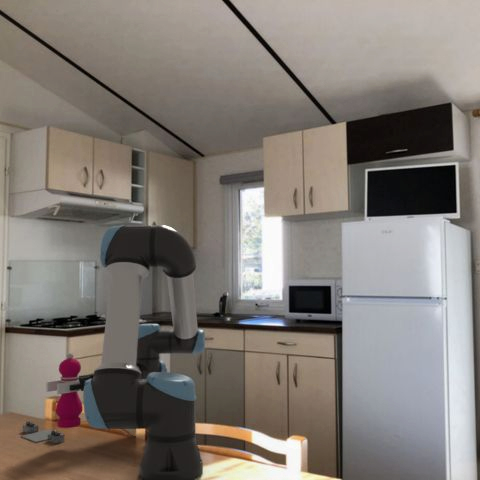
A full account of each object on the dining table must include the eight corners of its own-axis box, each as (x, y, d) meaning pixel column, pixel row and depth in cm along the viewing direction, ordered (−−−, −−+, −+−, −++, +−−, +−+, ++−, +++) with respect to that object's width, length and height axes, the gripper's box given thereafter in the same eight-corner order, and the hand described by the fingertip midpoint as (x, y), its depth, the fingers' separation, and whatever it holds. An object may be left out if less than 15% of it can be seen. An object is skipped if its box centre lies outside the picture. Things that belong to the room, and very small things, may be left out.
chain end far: (38, 432, 170) (38, 422, 170) (29, 434, 168) (29, 424, 168) (32, 429, 173) (32, 420, 173) (22, 431, 170) (22, 422, 171)
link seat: (64, 436, 165) (64, 434, 165) (36, 442, 159) (36, 441, 159) (49, 430, 171) (49, 429, 172) (21, 436, 165) (21, 435, 165)
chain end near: (64, 441, 160) (64, 431, 160) (54, 443, 158) (54, 433, 158) (57, 438, 163) (57, 429, 163) (47, 441, 160) (47, 431, 161)
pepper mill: (55, 423, 158) (57, 352, 160) (81, 421, 160) (83, 351, 162) (55, 429, 151) (56, 355, 153) (82, 427, 153) (83, 354, 155)
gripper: (140, 393, 164) (69, 406, 146) (105, 386, 176) (35, 397, 158) (140, 367, 164) (70, 377, 147) (105, 362, 176) (36, 370, 159)
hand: (52, 387), depth 153 cm, fingers closed on pepper mill, 5 cm apart
